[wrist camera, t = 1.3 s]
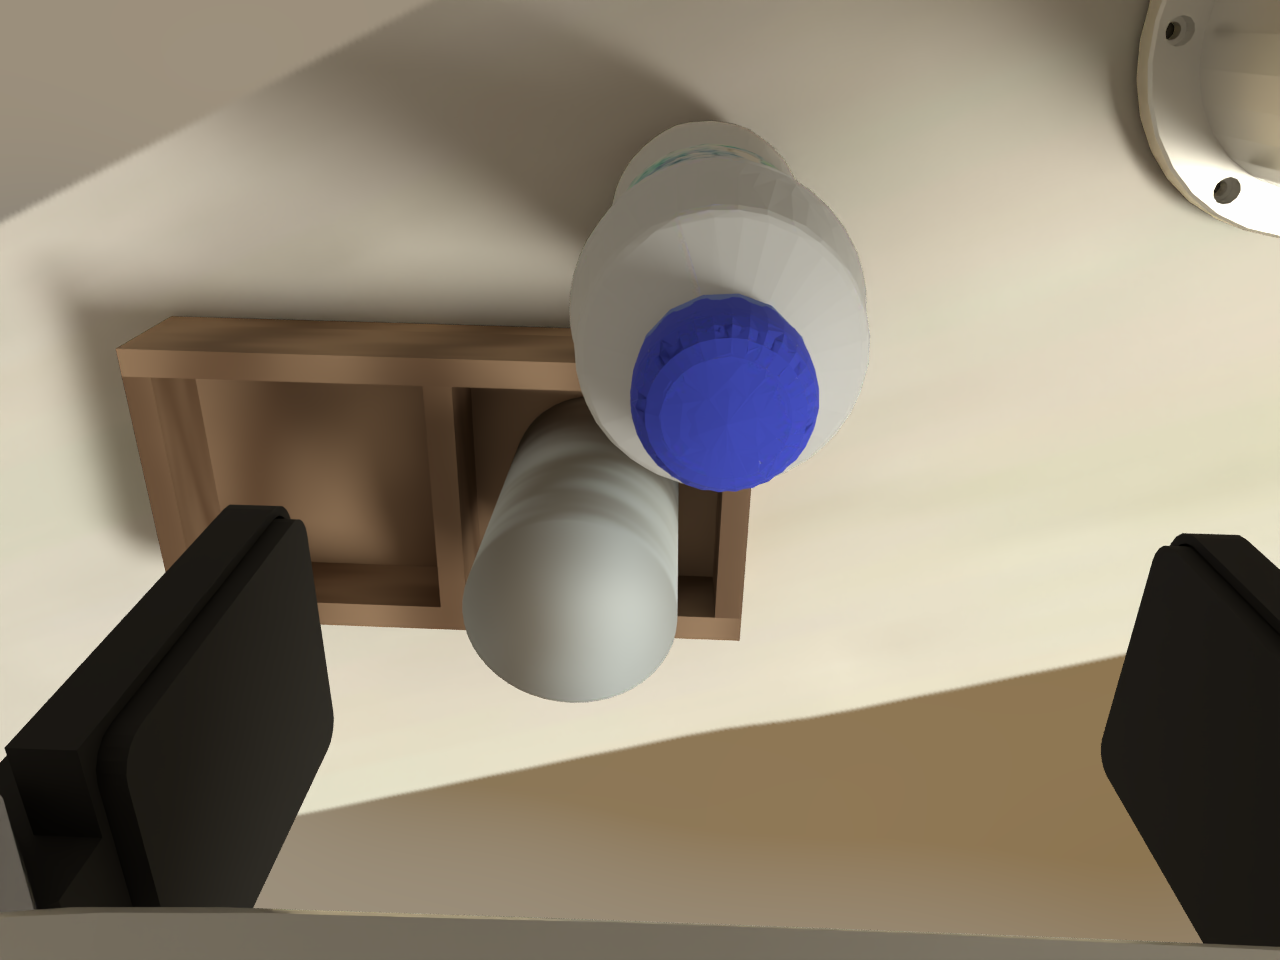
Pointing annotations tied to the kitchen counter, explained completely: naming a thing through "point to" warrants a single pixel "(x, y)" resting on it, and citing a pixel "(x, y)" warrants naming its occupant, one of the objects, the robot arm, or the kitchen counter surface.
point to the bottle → (718, 312)
